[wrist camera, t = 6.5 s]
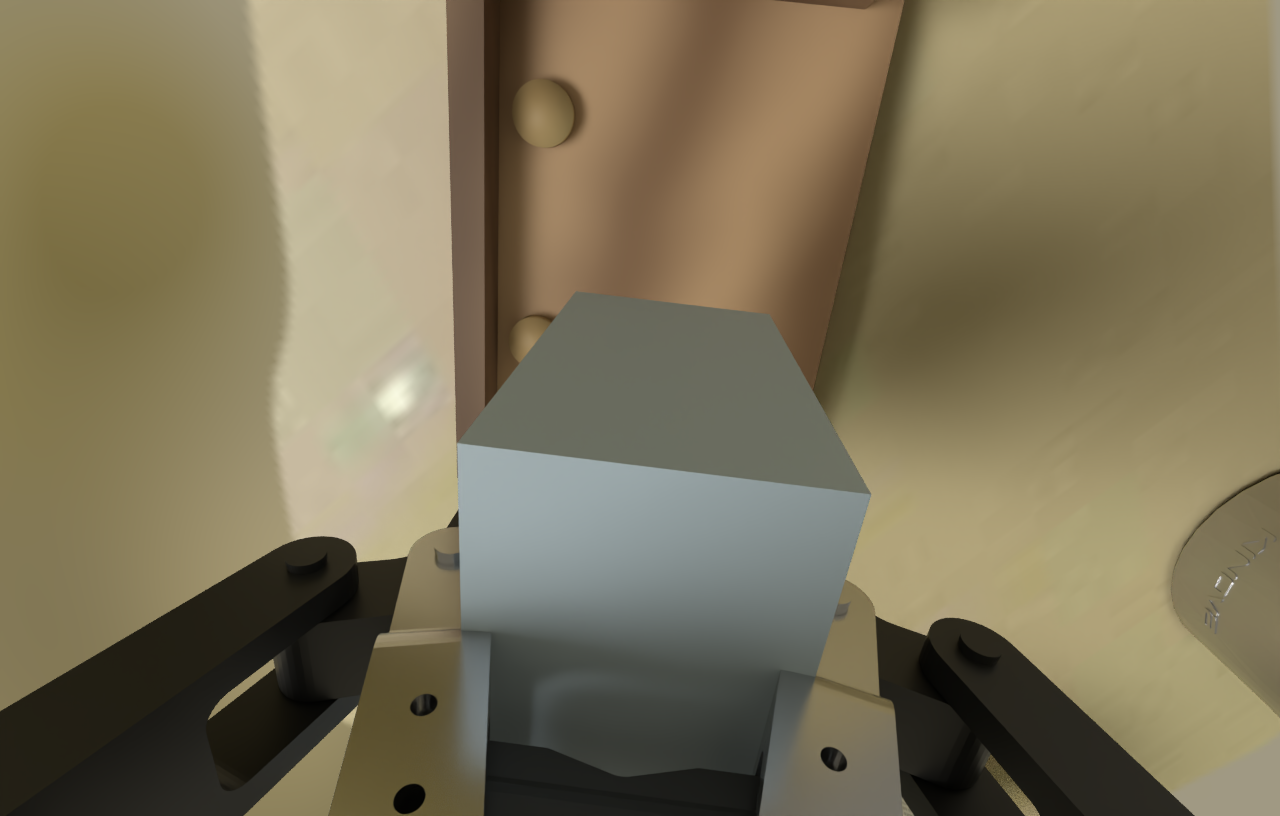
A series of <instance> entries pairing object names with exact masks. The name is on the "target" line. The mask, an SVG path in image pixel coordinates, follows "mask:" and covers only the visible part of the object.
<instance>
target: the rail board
mask: <svg viewBox="0 0 1280 816" xmlns="http://www.w3.org/2000/svg"><path fill="white" fill-rule="evenodd" d="M904 1H905V0H446V14H447V56H448V99H449V141H450V184H451V226H452V269H453V311H454V354H455V396H456V439H457V443H458V441H459V440H460V439H461V438H462V436H463V435H464V434H465V433H466V431H467V430H468V429H469V427H470V426H471V425H472V424H473V422H474V421H475V420H476V418H477V417H478V416H479V415H480V413H481V412H482V411H483V410H484V408H485V407H486V406H487V404H488V403H489V402H490V401H491V399H492V398H493V397H494V395H495V394H496V393H497V392H498V390H499V389H500V388H501V387H502V385H503V384H504V383H505V381H506V380H507V379H508V378H509V376H510V375H511V374H512V372H513V371H514V370H515V369H516V367H517V366H518V365H519V364H520V362H521V361H522V360H523V358H524V357H525V356H526V355H527V353H528V352H529V351H530V349H531V348H532V347H533V346H534V344H535V343H536V342H537V340H538V339H539V338H540V337H541V335H542V334H543V333H544V332H545V330H546V329H547V328H548V326H549V325H550V324H551V323H552V321H553V320H554V319H555V317H556V316H557V315H558V314H559V312H560V311H561V310H562V309H563V307H564V306H565V305H566V303H567V302H568V301H569V300H570V298H571V297H572V296H573V294H574V293H575V292H576V291H578V292H586V293H595V294H603V295H612V296H620V297H628V298H637V299H645V300H654V301H662V302H670V303H679V304H687V305H696V306H704V307H713V308H721V309H729V310H738V311H746V312H755V313H763V314H770V316H771V318H772V320H773V321H774V323H775V325H776V327H777V328H778V330H779V332H780V334H781V336H782V337H783V339H784V341H785V343H786V344H787V346H788V348H789V350H790V352H791V353H792V355H793V357H794V359H795V360H796V362H797V364H798V366H799V367H800V369H801V371H802V373H803V375H804V376H805V378H806V380H807V382H808V383H809V385H810V387H811V389H812V390H813V389H814V385H815V381H816V376H817V372H818V368H819V363H820V359H821V355H822V351H823V346H824V342H825V338H826V334H827V329H828V325H829V321H830V317H831V312H832V308H833V304H834V300H835V295H836V291H837V287H838V283H839V278H840V274H841V270H842V265H843V261H844V257H845V253H846V248H847V244H848V240H849V236H850V231H851V227H852V223H853V219H854V214H855V210H856V206H857V202H858V197H859V193H860V189H861V184H862V180H863V176H864V172H865V167H866V163H867V159H868V155H869V150H870V146H871V142H872V138H873V133H874V129H875V125H876V121H877V116H878V112H879V108H880V104H881V99H882V95H883V91H884V86H885V82H886V78H887V74H888V69H889V65H890V61H891V57H892V52H893V48H894V44H895V40H896V35H897V31H898V27H899V23H900V18H901V14H902V10H903V5H904ZM457 478H458V459H457Z"/></svg>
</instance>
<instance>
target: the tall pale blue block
mask: <svg viewBox="0 0 1280 816" xmlns="http://www.w3.org/2000/svg"><path fill="white" fill-rule="evenodd" d="M457 459H458V505H459V552H460V599H461V630H463V631H484V632H491V732H490V740H492V741H499V742H507V743H514V744H522V745H529V746H537V747H544V748H549V749H552V750H554V751H557V752H559V753H562V754H564V755H566V756H569V757H571V758H574V759H576V760H579V761H581V762H584V763H586V764H589V765H591V766H594V767H596V768H599V769H601V770H603V771H606V772H608V773H611V774H613V775H617V776H621V777H631V776H639V775H647V774H655V773H663V772H671V771H679V770H687V769H695V768H702V769H709V770H717V771H725V772H732V773H740V774H747V775H752V772H753V769H754V765H755V761H756V758H757V754H758V750H759V747H760V743H761V739H762V735H763V732H764V728H765V724H766V721H767V717H768V713H769V710H770V706H771V702H772V699H773V695H774V691H775V688H776V684H777V680H778V677H779V673H780V670H786V671H791V672H796V673H800V674H805V675H809V676H814V677H816V673H817V670H818V667H819V664H820V660H821V657H822V654H823V651H824V647H825V644H826V641H827V638H828V634H829V631H830V628H831V624H832V621H833V618H834V615H835V611H836V608H837V605H838V602H839V598H840V595H841V592H842V588H843V585H844V582H845V579H846V575H847V572H848V569H849V566H850V562H851V559H852V556H853V552H854V549H855V546H856V543H857V539H858V536H859V533H860V530H861V526H862V523H863V520H864V517H865V513H866V510H867V507H868V503H869V500H870V497H871V493H870V491H869V490H868V488H867V486H866V484H865V483H864V481H863V479H862V477H861V475H860V474H859V472H858V470H857V468H856V467H855V465H854V463H853V461H852V460H851V458H850V456H849V454H848V452H847V451H846V449H845V447H844V445H843V444H842V442H841V440H840V438H839V437H838V435H837V433H836V431H835V429H834V428H833V426H832V424H831V422H830V421H829V419H828V417H827V415H826V413H825V412H824V410H823V408H822V406H821V405H820V403H819V401H818V399H817V398H816V396H815V394H814V392H813V390H812V389H811V387H810V385H809V383H808V382H807V380H806V378H805V376H804V375H803V373H802V371H801V369H800V367H799V366H798V364H797V362H796V360H795V359H794V357H793V355H792V353H791V352H790V350H789V348H788V346H787V344H786V343H785V341H784V339H783V337H782V336H781V334H780V332H779V330H778V328H777V327H776V325H775V323H774V321H773V320H772V318H771V316H770V314H763V313H755V312H746V311H738V310H729V309H721V308H713V307H704V306H696V305H687V304H679V303H670V302H662V301H654V300H645V299H637V298H628V297H620V296H612V295H603V294H595V293H586V292H578V291H576V292H575V293H574V294H573V296H572V297H571V298H570V300H569V301H568V302H567V303H566V305H565V306H564V307H563V309H562V310H561V311H560V312H559V314H558V315H557V316H556V317H555V319H554V320H553V321H552V323H551V324H550V325H549V326H548V328H547V329H546V330H545V332H544V333H543V334H542V335H541V337H540V338H539V339H538V340H537V342H536V343H535V344H534V346H533V347H532V348H531V349H530V351H529V352H528V353H527V355H526V356H525V357H524V358H523V360H522V361H521V362H520V364H519V365H518V366H517V367H516V369H515V370H514V371H513V372H512V374H511V375H510V376H509V378H508V379H507V380H506V381H505V383H504V384H503V385H502V387H501V388H500V389H499V390H498V392H497V393H496V394H495V395H494V397H493V398H492V399H491V401H490V402H489V403H488V404H487V406H486V407H485V408H484V410H483V411H482V412H481V413H480V415H479V416H478V417H477V418H476V420H475V421H474V422H473V424H472V425H471V426H470V427H469V429H468V430H467V431H466V433H465V434H464V435H463V436H462V438H461V439H460V440H459V441H458V443H457Z"/></svg>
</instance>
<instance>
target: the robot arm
mask: <svg viewBox="0 0 1280 816" xmlns="http://www.w3.org/2000/svg"><path fill="white" fill-rule="evenodd" d="M1171 593H1172V600H1173V606H1174V609H1175V611H1176V613H1177V615H1178V617H1179V619H1180V621H1181V623H1182V624H1183V625H1184V626H1185V627H1186V628H1187V629H1188V630H1189V631H1190V632H1191V633H1192V634H1193V635H1194V636H1195V637H1196V638H1197V639H1198V640H1199V641H1200V642H1201V643H1202V644H1203V645H1204V646H1205V647H1206V648H1207V649H1208V650H1210V651H1211V652H1212V653H1213V654H1214V655H1215V656H1216V657H1217V658H1218V659H1219V660H1220V661H1221V662H1222V663H1223V664H1224V665H1225V666H1226V667H1227V668H1229V669H1230V670H1231V671H1232V672H1233V673H1234V674H1235V675H1236V676H1237V677H1238V678H1239V679H1240V680H1241V681H1242V682H1243V683H1244V684H1245V685H1246V686H1247V687H1249V688H1250V689H1251V690H1252V691H1253V692H1254V693H1255V694H1256V695H1257V696H1258V697H1259V698H1260V699H1261V700H1262V701H1263V702H1264V703H1265V704H1266V705H1268V706H1269V707H1270V708H1271V709H1272V710H1273V712H1274V713H1275V714H1276V715H1277V716H1278V717H1279V718H1280V474H1277V475H1274V476H1271V477H1269V478H1267V479H1265V480H1263V481H1262V482H1260V483H1258V484H1256V485H1254V486H1252V487H1250V488H1248V489H1246V490H1244V491H1242V492H1241V493H1239V494H1238V495H1237V496H1235V497H1234V498H1232V499H1231V500H1230V501H1228V502H1227V503H1225V504H1224V505H1223V506H1221V507H1220V508H1218V509H1217V510H1216V511H1215V512H1214V513H1213V514H1212V515H1211V516H1210V517H1209V518H1208V519H1207V520H1206V521H1205V522H1204V523H1203V524H1202V525H1201V526H1200V527H1199V528H1198V529H1197V530H1196V531H1195V533H1194V534H1193V536H1192V537H1191V538H1190V540H1189V541H1188V543H1187V544H1186V545H1185V547H1184V548H1183V550H1182V552H1181V554H1180V557H1179V559H1178V561H1177V564H1176V566H1175V568H1174V572H1173V579H1172V586H1171ZM272 659H273V660H274V665H275V669H273V670H272V671H271V672H269V673H268V674H267V675H266V676H264V677H263V678H262V679H260V680H259V681H258V682H257V683H256V684H254V685H253V686H252V687H250V688H249V689H248V690H247V691H245V692H244V693H243V694H241V695H240V696H239V697H237V698H236V699H235V700H234V701H232V702H231V703H230V704H228V705H227V706H226V707H225V708H223V709H222V710H221V711H220V712H218V713H217V714H216V715H214V716H213V717H212V718H210V719H209V720H208V718H209V716H210V714H211V712H212V710H213V709H214V707H215V706H216V705H217V703H218V702H219V701H220V699H222V698H223V697H224V696H225V695H226V694H227V693H228V692H230V691H231V690H232V689H233V688H235V687H236V686H237V685H239V684H240V683H241V682H243V681H244V680H245V679H247V678H248V677H249V676H250V675H252V674H253V673H254V672H256V671H257V670H258V669H260V668H261V667H262V666H264V665H265V664H266V663H268V662H269V661H270V660H272ZM357 705H358V707H357V711H356V714H355V718H354V722H353V726H352V729H351V733H350V737H349V740H348V744H347V748H346V751H345V756H344V759H343V763H342V766H341V770H340V774H339V778H338V781H337V785H336V789H335V792H334V796H333V800H332V803H331V807H330V811H329V814H328V816H903V810H902V798H903V799H904V801H905V803H906V804H907V806H908V807H909V809H910V810H911V812H912V813H913V815H914V816H1025V815H1024V814H1023V813H1022V812H1021V810H1020V809H1019V808H1018V807H1017V805H1016V804H1015V803H1014V802H1013V801H1012V799H1011V798H1010V797H1009V796H1008V794H1007V793H1006V792H1005V791H1004V789H1003V788H1002V787H1001V786H1000V785H999V783H998V782H997V781H996V780H995V778H994V777H993V776H992V775H991V774H990V772H989V771H988V770H987V769H986V767H985V764H986V762H987V760H988V758H989V756H990V754H991V755H992V756H993V757H994V758H995V759H996V761H997V762H998V763H999V764H1000V765H1001V766H1002V768H1003V769H1004V770H1005V771H1006V772H1007V774H1008V775H1009V776H1010V777H1011V778H1012V779H1013V781H1014V782H1015V783H1016V784H1017V785H1018V787H1019V788H1020V789H1021V790H1022V791H1023V793H1024V794H1025V795H1026V796H1027V797H1028V798H1029V800H1030V801H1031V802H1032V803H1033V805H1034V806H1035V808H1036V809H1037V811H1038V813H1039V815H1040V816H1194V815H1193V814H1192V813H1191V812H1190V811H1189V810H1188V809H1187V808H1186V807H1185V806H1184V805H1183V804H1181V803H1180V802H1179V801H1178V800H1177V799H1176V798H1175V797H1174V796H1173V795H1172V794H1171V793H1170V792H1169V791H1168V790H1167V789H1166V788H1164V787H1163V786H1162V785H1161V784H1160V783H1159V782H1158V781H1157V780H1156V779H1155V778H1154V777H1153V776H1152V775H1151V774H1150V773H1148V772H1147V771H1146V770H1145V769H1144V768H1143V767H1142V766H1141V765H1140V764H1139V763H1138V762H1137V761H1136V760H1135V759H1134V758H1132V757H1131V756H1130V755H1129V754H1128V753H1127V752H1126V751H1125V750H1124V749H1123V748H1122V747H1121V746H1120V745H1119V744H1118V743H1116V742H1115V741H1114V740H1113V739H1112V738H1111V737H1110V736H1109V735H1108V734H1107V733H1106V732H1105V731H1104V730H1103V729H1102V728H1101V727H1099V726H1098V725H1097V724H1096V723H1095V722H1094V721H1093V720H1092V719H1091V718H1090V717H1089V716H1088V715H1087V714H1086V713H1085V712H1083V711H1082V710H1081V709H1080V708H1079V707H1078V706H1077V705H1076V704H1075V703H1074V702H1073V701H1072V700H1071V699H1070V698H1069V697H1067V696H1066V695H1065V694H1064V693H1063V692H1062V691H1061V690H1060V689H1059V688H1058V687H1057V686H1056V685H1055V684H1054V683H1053V682H1051V681H1050V680H1049V679H1048V678H1047V677H1046V676H1045V675H1044V674H1043V673H1042V672H1041V671H1040V670H1039V669H1038V668H1037V667H1036V666H1034V665H1033V664H1032V663H1031V662H1030V661H1029V660H1028V659H1027V658H1026V657H1025V656H1024V655H1023V654H1022V653H1021V652H1020V651H1018V650H1017V649H1016V648H1015V647H1014V646H1013V645H1012V644H1011V643H1010V642H1008V641H1007V640H1006V639H1005V638H1003V637H1002V636H1000V635H999V634H997V633H996V632H994V631H992V630H991V629H989V628H987V627H985V626H983V625H980V624H977V623H975V622H972V621H968V620H964V619H959V618H944V619H940V620H938V621H936V622H934V623H933V624H932V625H931V627H930V629H929V632H928V634H927V636H925V635H922V634H919V633H917V632H914V631H911V630H908V629H905V628H902V627H900V626H897V625H894V624H891V623H889V622H886V621H884V620H882V619H880V618H878V617H877V616H875V609H874V606H873V603H872V602H871V600H870V599H869V597H868V596H867V595H866V594H865V593H864V592H863V591H862V590H861V589H860V588H858V587H857V586H855V585H854V584H852V583H851V582H849V581H847V580H845V582H844V585H843V588H842V592H841V595H840V598H839V602H838V605H837V608H836V611H835V615H834V618H833V621H832V624H831V628H830V631H829V634H828V638H827V641H826V644H825V647H824V651H823V654H822V657H821V660H820V664H819V667H818V670H817V673H816V677H814V676H809V675H805V674H800V673H796V672H791V671H786V670H780V673H779V677H778V680H777V684H776V688H775V691H774V695H773V699H772V702H771V706H770V710H769V713H768V717H767V721H766V724H765V728H764V732H763V735H762V739H761V743H760V747H759V750H758V754H757V758H756V761H755V765H754V769H753V772H752V775H747V774H740V773H732V772H725V771H717V770H709V769H702V768H695V769H687V770H679V771H671V772H663V773H655V774H647V775H639V776H631V777H621V776H617V775H613V774H611V773H608V772H606V771H603V770H601V769H599V768H596V767H594V766H591V765H589V764H586V763H584V762H581V761H579V760H576V759H574V758H571V757H569V756H566V755H564V754H562V753H559V752H557V751H554V750H552V749H549V748H544V747H537V746H529V745H522V744H514V743H507V742H499V741H492V740H490V732H491V632H484V631H463V630H461V599H460V552H459V509H458V511H457V512H456V514H455V516H454V517H453V519H452V520H451V522H450V524H449V525H448V527H447V528H444V529H440V530H436V531H433V532H431V533H428V534H426V535H425V536H423V537H421V538H420V539H419V540H417V541H416V542H415V543H414V544H413V546H412V547H411V549H410V551H409V554H408V556H407V557H403V558H398V559H391V560H380V561H368V562H357V556H356V551H355V549H354V547H353V546H352V545H351V544H350V543H348V542H347V541H345V540H342V539H339V538H335V537H325V536H321V537H309V538H304V539H299V540H296V541H293V542H290V543H287V544H285V545H282V546H281V547H279V548H277V549H275V550H273V551H271V552H270V553H268V554H267V555H265V556H263V557H261V558H260V559H258V560H256V561H255V562H253V563H251V564H249V565H248V566H246V567H244V568H243V569H241V570H239V571H238V572H236V573H234V574H232V575H231V576H229V577H227V578H226V579H224V580H222V581H221V582H219V583H217V584H216V585H214V586H212V587H210V588H209V589H207V590H205V591H204V592H202V593H200V594H198V595H197V596H195V597H194V598H192V599H190V600H188V601H187V602H185V603H183V604H182V605H180V606H178V607H176V608H175V609H173V610H171V611H170V612H168V613H166V614H165V615H163V616H161V617H159V618H158V619H156V620H154V621H153V622H151V623H149V624H148V625H146V626H145V627H142V628H141V629H139V630H137V631H136V632H134V633H133V634H131V635H129V636H127V637H125V638H124V639H122V640H120V641H119V642H117V643H115V644H114V645H112V646H110V647H109V648H107V649H105V650H104V651H102V652H100V653H98V654H97V655H95V656H93V657H92V658H90V659H88V660H86V661H85V662H83V663H81V664H80V665H78V666H76V667H75V668H73V669H71V670H69V671H68V672H66V673H64V674H63V675H61V676H59V677H58V678H56V679H54V680H52V681H51V682H49V683H47V684H46V685H44V686H42V687H41V688H39V689H37V690H36V691H34V692H32V693H30V694H29V695H27V696H26V697H24V698H22V699H20V700H19V701H17V702H15V703H13V704H12V705H10V706H8V707H7V708H5V709H3V710H2V711H0V816H243V815H245V814H246V813H247V812H248V811H249V810H250V809H251V808H252V807H253V806H254V805H255V804H256V803H257V802H258V801H259V800H260V799H261V798H262V797H263V796H264V795H265V794H266V793H267V792H268V791H270V789H272V788H273V787H274V786H275V785H276V784H277V783H278V782H279V781H280V780H281V779H282V778H283V777H284V776H285V775H286V774H287V773H288V772H289V771H290V770H291V769H292V768H293V767H294V766H295V765H296V764H297V763H298V762H299V761H300V760H302V758H304V757H305V756H306V755H307V754H308V753H309V752H310V751H311V750H312V749H313V748H314V747H315V746H316V745H317V744H318V743H319V742H320V741H321V740H322V739H323V738H324V737H325V736H326V735H327V734H328V733H329V732H330V731H331V730H333V729H334V728H335V727H336V725H338V724H339V723H340V722H341V721H342V720H343V719H344V718H345V717H346V716H347V715H348V714H349V713H350V712H351V711H352V710H353V709H354V708H355V707H356V706H357ZM901 796H902V797H901Z"/></svg>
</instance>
